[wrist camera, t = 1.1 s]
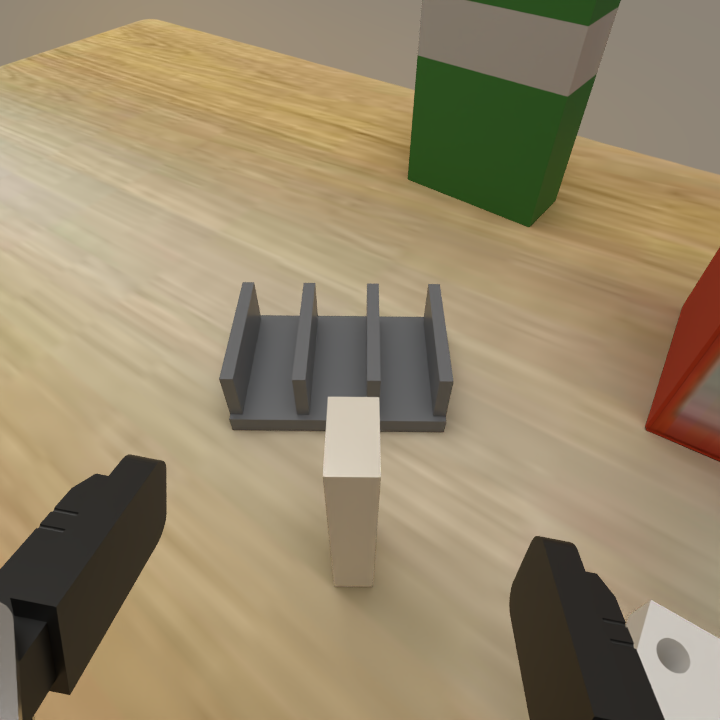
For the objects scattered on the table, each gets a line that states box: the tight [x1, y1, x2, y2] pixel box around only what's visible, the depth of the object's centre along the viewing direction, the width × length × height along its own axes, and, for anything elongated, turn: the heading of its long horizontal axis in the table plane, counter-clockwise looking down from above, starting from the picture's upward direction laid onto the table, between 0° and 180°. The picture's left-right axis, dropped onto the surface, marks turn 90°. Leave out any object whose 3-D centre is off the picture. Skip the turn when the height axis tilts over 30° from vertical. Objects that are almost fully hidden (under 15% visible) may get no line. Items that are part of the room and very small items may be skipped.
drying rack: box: [219, 282, 453, 432], centre depth 44 cm, size 12×17×6 cm
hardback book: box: [408, 0, 621, 227], centre depth 58 cm, size 18×7×24 cm, turn 52°
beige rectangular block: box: [323, 397, 381, 587], centre depth 30 cm, size 4×3×15 cm, turn 179°
